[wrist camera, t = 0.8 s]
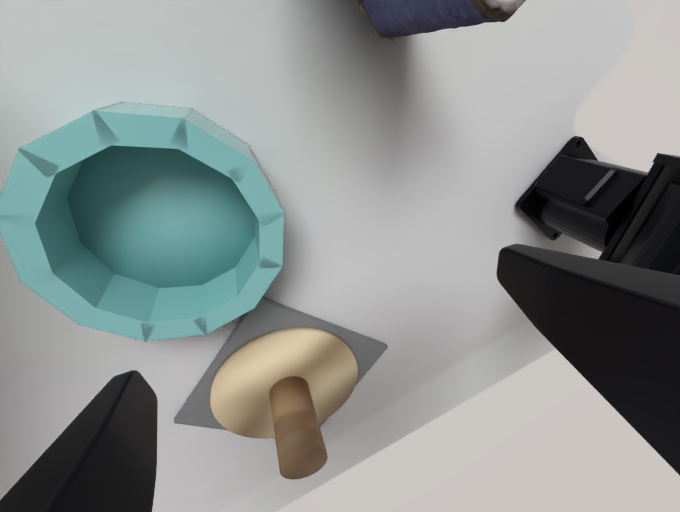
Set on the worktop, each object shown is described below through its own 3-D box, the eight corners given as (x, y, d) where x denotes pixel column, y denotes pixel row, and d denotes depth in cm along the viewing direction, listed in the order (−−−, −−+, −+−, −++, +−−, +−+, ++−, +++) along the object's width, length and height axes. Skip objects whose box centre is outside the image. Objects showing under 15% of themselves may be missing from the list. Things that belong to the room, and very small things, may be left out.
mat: (385, 344, 29) (387, 347, 29) (307, 437, 32) (308, 440, 32) (257, 295, 22) (257, 298, 22) (174, 418, 26) (173, 423, 25)
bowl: (308, 181, 20) (325, 203, 16) (220, 317, 22) (219, 359, 19) (97, 48, 14) (58, 40, 11) (14, 251, 17) (-38, 296, 13)
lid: (380, 349, 29) (418, 417, 23) (306, 437, 31) (324, 516, 26) (260, 306, 22) (272, 384, 17) (183, 419, 25) (171, 518, 20)
